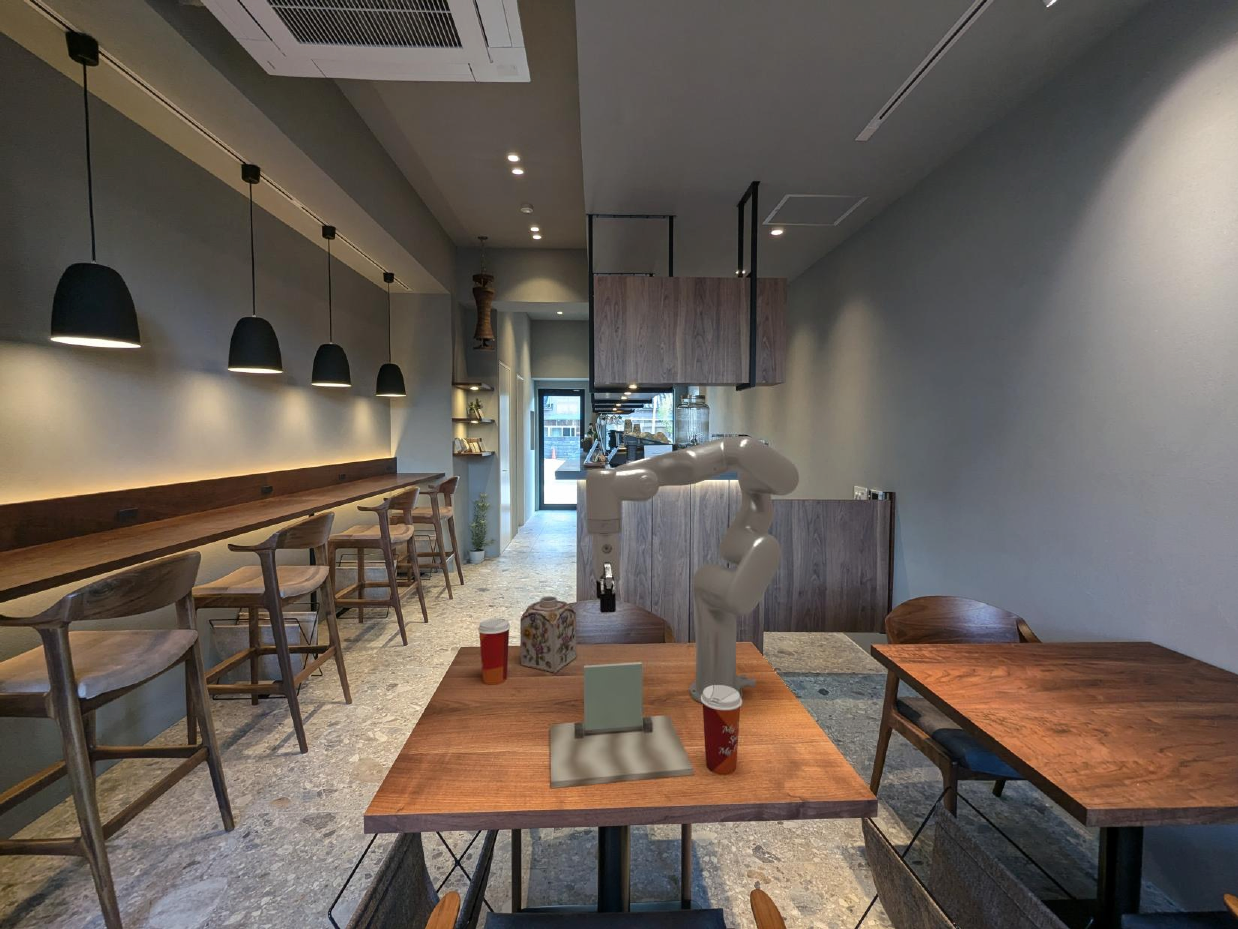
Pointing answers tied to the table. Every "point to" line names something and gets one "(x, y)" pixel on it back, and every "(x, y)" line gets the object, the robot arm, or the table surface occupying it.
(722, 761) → the paper cup
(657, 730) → the tile board
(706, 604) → the robot arm
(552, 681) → the table surface
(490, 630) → the coffee cup
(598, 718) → the glazed tile
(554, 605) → the decorative jar
